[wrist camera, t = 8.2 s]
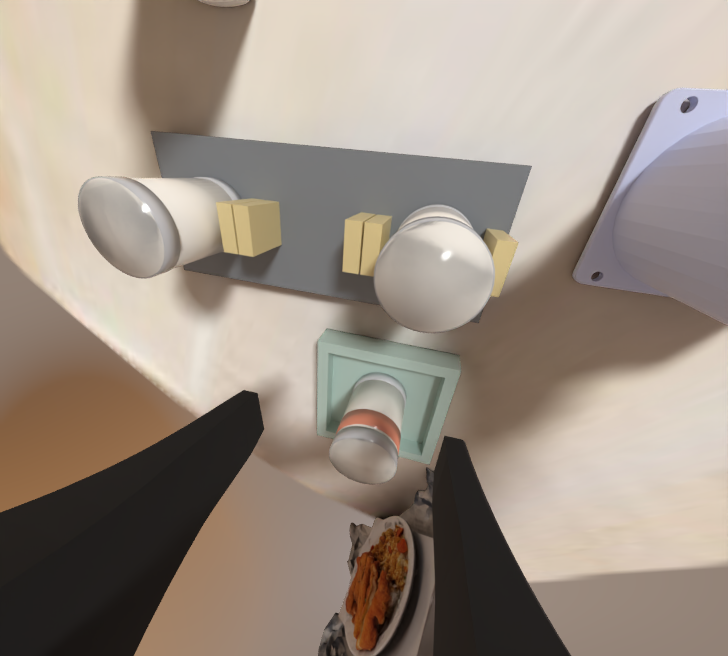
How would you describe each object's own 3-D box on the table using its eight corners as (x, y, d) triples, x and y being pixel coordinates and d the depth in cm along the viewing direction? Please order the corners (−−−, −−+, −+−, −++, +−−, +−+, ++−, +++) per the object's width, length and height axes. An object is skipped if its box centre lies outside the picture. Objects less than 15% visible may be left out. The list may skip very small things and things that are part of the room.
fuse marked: (410, 413, 22) (401, 487, 16) (360, 413, 23) (338, 481, 18) (402, 371, 20) (389, 438, 15) (349, 373, 21) (320, 435, 16)
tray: (459, 355, 19) (461, 371, 17) (430, 446, 24) (429, 464, 22) (326, 328, 20) (317, 340, 19) (324, 419, 25) (317, 434, 24)
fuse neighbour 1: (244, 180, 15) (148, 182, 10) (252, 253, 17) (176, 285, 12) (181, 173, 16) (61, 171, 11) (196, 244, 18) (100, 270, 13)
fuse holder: (524, 166, 13) (557, 162, 10) (475, 314, 17) (486, 350, 14) (168, 133, 16) (92, 121, 13) (197, 265, 20) (145, 283, 17)
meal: (422, 463, 25) (410, 695, 14) (459, 487, 25) (476, 732, 14) (341, 516, 33) (290, 692, 21) (370, 534, 33) (335, 716, 22)
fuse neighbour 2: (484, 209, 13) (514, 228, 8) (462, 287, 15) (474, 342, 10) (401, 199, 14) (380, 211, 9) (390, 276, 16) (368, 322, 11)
